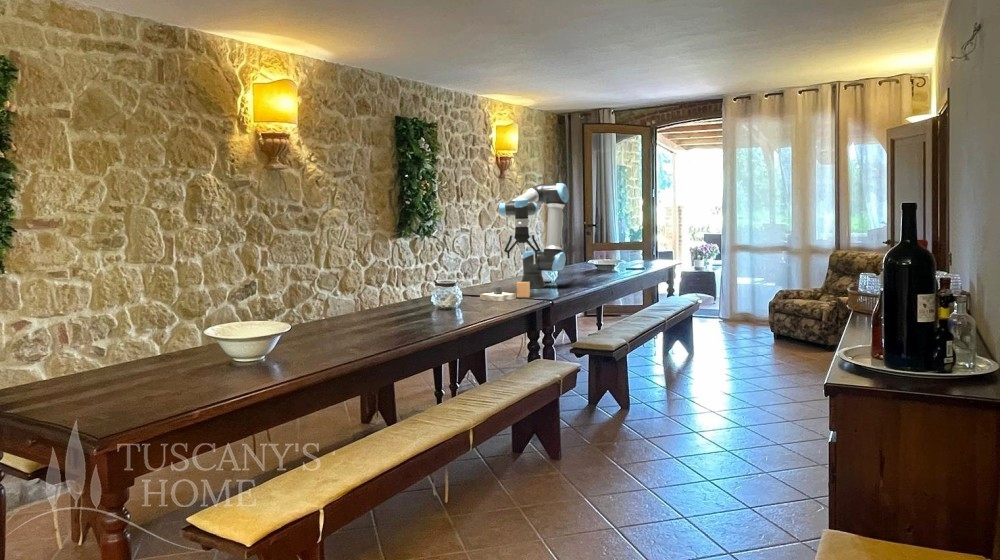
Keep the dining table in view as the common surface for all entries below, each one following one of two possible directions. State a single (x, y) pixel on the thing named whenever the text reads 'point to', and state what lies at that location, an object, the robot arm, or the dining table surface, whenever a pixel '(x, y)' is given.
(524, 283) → the orange block
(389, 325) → the dining table surface
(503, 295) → the hub
